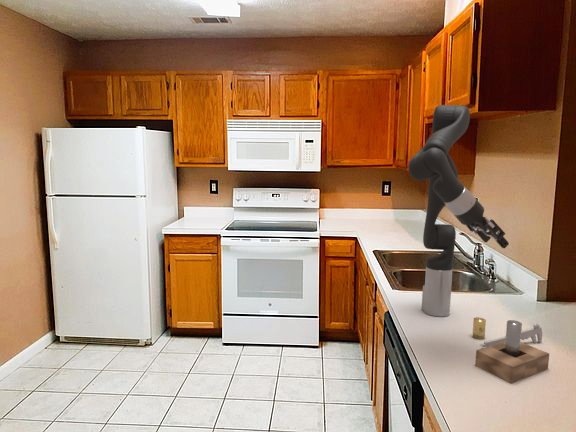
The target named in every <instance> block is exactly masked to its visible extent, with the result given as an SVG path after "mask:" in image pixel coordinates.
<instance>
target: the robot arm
mask: <svg viewBox="0 0 576 432" xmlns="http://www.w3.org/2000/svg"><path fill="white" fill-rule="evenodd" d="M470 113H471V112H470V109H469V107H468V106H466V105H460V104H459V105H457V104H456V105H453V104H451V105H450V104H438V105H437V106H436V107H435V108H434V110H433V115H432V134H431V135H430V136H429V137H428V138H427V140H426V142H424V143H425V144H424V145H423V146H422V147H421V148H420V149H419V150H418V151H417V152H416V153H415V154H414V156H412V157H411V159H410V160H409V162H408V167H407V168H408V172H409V174H410V176H411V178H412V179H414V180H416V181H426V180H428V186H427V187H428V188H427V189H428V192H427V204H426V205H427V207H426V208H427V209H426V213H425V214H426V215H425V220H424V221H425V222H424V226H423V235H422V237H423V238H422V242H423V247H424V248H425V249H428V250H437V251H438V250H442V251H441V252H440V253H439V254H437V255H434V256H431V257H427V258H426V262H425V279H424V280H425V281H424V284H423V286H422V293H421V296H422V297H421V310H422V311H423V312H424V313H425V314H426V315H430V316H432V317H442V318H443V317H447V316H449V315H450V314H451V311H450V310H451V298H452V297H451V296H452V284H453V283H452V282H453V267H454V265H453V264H454V254H455V247H456V246H455V245H456V240H457V238H456V235H457V234H456V233H457V231H456V228H455V225H453V224H446V223H445V224H440V223H436V222H437V220H438V217H439V215H440V214H441V212H442V210H443V209H444V208H445V207H446V208H447V209H448V210H449V211H450V213H452V214H453V216H454V217H455V218H456V219H457V220H458V221H459V223H461V224H462V225H464V226H466V228H468V230H469V231H470V232H471V233H472V232H473V233H474V234H475V235H478V236H479V238H480V239H481V240H482V241H483V242H484V243H488V242H489V241H490V239H491V238H492V239H493V240H494V241H495V242H496V243H497V244H498V245H499V246H500V247H501V249H506V248H507V247H508V246H509V241H508V240H507V239H506V238H505V237H504V236H505V235H506V232H505V231H504V230H503V229H502V228H501V227H500V226H499V225H498V224H497V222H495V220H493V218H492V219H490V220H489V219H488V218H487V216H484V214H485V207H484V206H483V205H482V204H481V203H480V201H479V200H478V199H477V198H476V197H475V196H474V194H473V193H472V192H471V191H470V190H469V189H468V188H466V186H464V184H463V183H462V182H461V181H460V180H459V179H458V177H459V176H458V175H459V173H458V169H457V167H456V164H455V163H454V161H453V159H452V157H451V156H450V154H449V152H450V150H451V148H452V147H453V145H454V144H455V143H456V142H457V141H458V140H459V139H460V138H461V137H462V136H463V135H464V134H465V133H466V131H467V129H468V127H469V125H470V118H471V117H470V116H471V114H470Z"/></svg>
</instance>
